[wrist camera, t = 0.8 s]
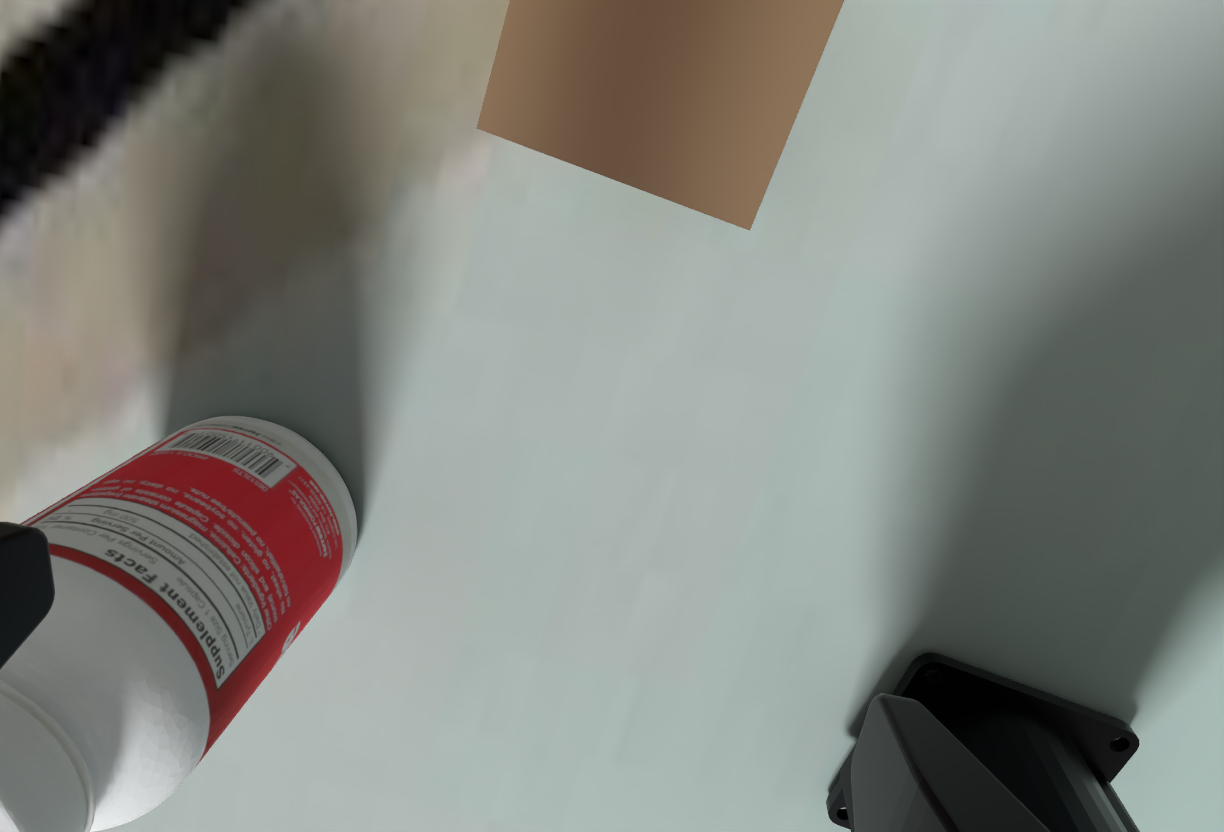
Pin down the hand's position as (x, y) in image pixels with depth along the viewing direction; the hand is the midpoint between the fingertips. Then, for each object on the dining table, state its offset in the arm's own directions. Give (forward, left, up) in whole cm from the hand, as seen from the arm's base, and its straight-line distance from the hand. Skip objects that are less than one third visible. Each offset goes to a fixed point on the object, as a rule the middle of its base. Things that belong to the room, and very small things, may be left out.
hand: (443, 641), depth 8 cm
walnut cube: (0, -7, -12) cm, 14 cm away
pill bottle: (+7, +8, -12) cm, 17 cm away
